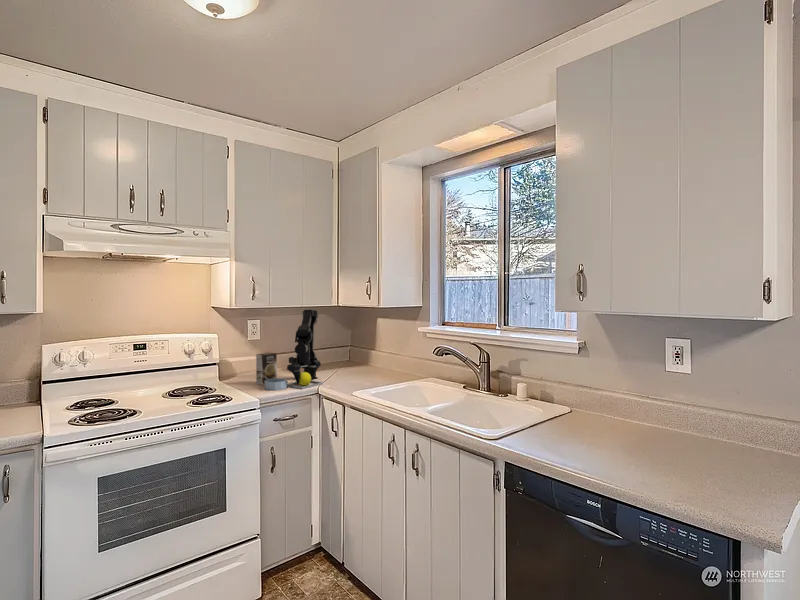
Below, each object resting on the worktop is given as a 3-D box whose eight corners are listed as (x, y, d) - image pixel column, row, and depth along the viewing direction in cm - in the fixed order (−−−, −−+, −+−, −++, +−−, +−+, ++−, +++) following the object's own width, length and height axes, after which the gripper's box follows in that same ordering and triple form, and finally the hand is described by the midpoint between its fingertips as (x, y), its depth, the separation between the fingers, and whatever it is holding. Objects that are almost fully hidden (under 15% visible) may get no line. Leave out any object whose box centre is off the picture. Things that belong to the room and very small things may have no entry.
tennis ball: (295, 385, 245) (295, 371, 245) (308, 383, 249) (307, 370, 249) (300, 387, 239) (300, 373, 239) (313, 385, 243) (313, 372, 243)
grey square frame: (306, 381, 254) (306, 379, 254) (323, 384, 246) (323, 382, 246) (285, 386, 242) (285, 384, 242) (301, 389, 234) (301, 387, 234)
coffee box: (263, 385, 245) (262, 355, 244) (256, 384, 249) (255, 354, 248) (277, 382, 252) (277, 353, 251) (270, 381, 256) (269, 352, 255)
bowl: (277, 384, 246) (277, 377, 245) (291, 387, 239) (291, 379, 239) (260, 388, 237) (260, 380, 237) (274, 391, 230) (274, 383, 230)
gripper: (306, 349, 256) (307, 377, 256) (279, 353, 241) (280, 383, 241) (321, 350, 249) (321, 379, 250) (294, 354, 234) (294, 385, 235)
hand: (304, 381), depth 244 cm, fingers open, 9 cm apart
